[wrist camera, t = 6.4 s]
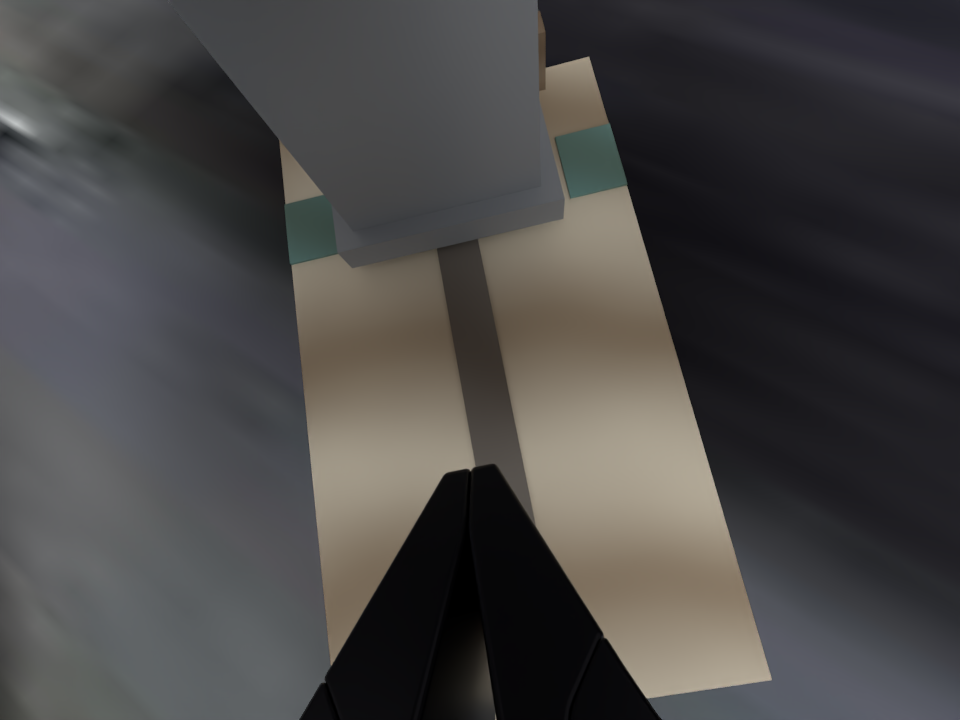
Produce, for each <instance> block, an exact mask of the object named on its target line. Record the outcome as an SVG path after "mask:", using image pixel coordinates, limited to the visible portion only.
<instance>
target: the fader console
mask: <svg viewBox="0 0 960 720" xmlns="http://www.w3.org/2000/svg"><path fill="white" fill-rule="evenodd" d="M538 54H539V100H540V104H541V108H542V112H543V116H544V120H545V123H546V127H547V131H548V135H549V139H550V143H551V147H552V151H553V155H554V159H555V162H556V166H557V170H558V174H559V178H560V182H561V186H562V190H563V194H564V198H565V203H564V218H563V219H560V220H556V221H552V222H547V223H543V224H539V225H535V226H530V227H526V228H522V229H518V230H513V231H509V232H505V233H501V234H496V235H492V236H488V237H484V238H479V239H475V240H471V241H466V242H462V243H458V244H454V245H449V246H445V247H441V248H437V249H432V250H428V251H424V252H420V253H415V254H411V255H407V256H403V257H398V258H394V259H390V260H386V261H381V262H377V263H373V264H368V265H364V266H360V267H356V268H351V267H350V266H349V265H348V263H347V262H346V261H345V260H344V259H343V258H342V257H341V256H340V255H339V254H338V253H337V245H336V237H335V229H334V221H333V213H332V205H331V203H330V202H329V201H328V199H327V198H326V197H325V196H324V194H323V193H322V192H321V191H320V189H319V188H318V187H317V186H316V185H315V183H314V182H313V181H312V180H311V178H310V177H309V176H308V175H307V173H306V172H305V171H304V170H303V168H302V167H301V166H300V165H299V163H298V162H297V161H296V160H295V158H294V157H293V156H292V155H291V154H290V152H289V151H288V150H287V149H286V147H285V146H284V145H283V144H282V142H281V141H280V140H279V142H280V152H281V162H282V172H283V183H284V193H285V203H286V204H285V205H284V208H285V219H286V229H287V239H288V250H289V260H290V264H291V265H292V275H293V285H294V295H295V305H296V315H297V326H298V336H299V346H300V356H301V366H302V377H303V387H304V397H305V407H306V417H307V428H308V438H309V448H310V458H311V469H312V479H313V489H314V499H315V509H316V520H317V530H318V540H319V550H320V560H321V571H322V581H323V591H324V601H325V611H326V622H327V632H328V642H329V652H330V663H331V665H332V664H333V662H334V660H335V659H336V657H337V655H338V654H339V652H340V650H341V648H342V647H343V645H344V643H345V642H346V640H347V638H348V637H349V635H350V633H351V631H352V630H353V628H354V626H355V625H356V623H357V621H358V620H359V618H360V616H361V614H362V613H363V611H364V609H365V608H366V606H367V604H368V603H369V601H370V599H371V597H372V596H373V594H374V592H375V591H376V589H377V587H378V585H379V584H380V582H381V580H382V579H383V577H384V575H385V574H386V572H387V570H388V568H389V567H390V565H391V563H392V562H393V560H394V558H395V557H396V555H397V553H398V551H399V550H400V548H401V546H402V545H403V543H404V541H405V540H406V538H407V536H408V534H409V533H410V531H411V529H412V528H413V526H414V524H415V523H416V521H417V519H418V517H419V516H420V514H421V512H422V511H423V509H424V507H425V506H426V504H427V502H428V500H429V499H430V497H431V495H432V494H433V492H434V490H435V489H436V487H437V485H438V483H439V482H440V480H441V478H442V477H443V475H444V474H445V473H447V472H451V471H456V470H461V469H469V470H470V471H471V470H472V468H473V467H477V466H482V465H487V464H492V463H494V464H496V465H497V466H498V467H499V469H500V470H501V472H502V473H503V475H504V477H505V478H506V480H507V481H508V483H509V485H510V486H511V488H512V489H513V491H514V492H515V494H516V496H517V497H518V499H519V500H520V502H521V504H522V505H523V507H524V508H525V510H526V511H527V513H528V515H529V516H530V518H531V519H532V521H533V523H534V524H535V526H536V527H537V529H538V530H539V532H540V534H541V535H542V537H543V538H544V540H545V541H546V543H547V545H548V546H549V548H550V549H551V551H552V553H553V554H554V556H555V557H556V559H557V560H558V562H559V564H560V565H561V567H562V568H563V570H564V572H565V573H566V575H567V576H568V578H569V579H570V581H571V583H572V584H573V586H574V587H575V589H576V591H577V592H578V594H579V595H580V597H581V598H582V600H583V602H584V603H585V605H586V606H587V608H588V610H589V611H590V613H591V614H592V616H593V617H594V619H595V621H596V622H597V624H598V625H599V627H600V629H601V630H602V632H603V634H604V638H607V639H608V641H609V642H610V644H611V645H612V647H613V649H614V650H615V652H616V653H617V655H618V656H619V658H620V660H621V661H622V663H623V664H624V666H625V667H626V669H627V670H628V672H629V673H630V675H631V676H632V678H633V679H634V681H635V682H636V684H637V685H638V687H639V688H640V690H641V691H642V692H643V694H644V695H645V697H646V698H654V697H661V696H667V695H674V694H681V693H688V692H694V691H701V690H708V689H715V688H721V687H728V686H735V685H742V684H748V683H755V682H762V681H769V680H772V678H771V675H770V671H769V668H768V665H767V661H766V658H765V654H764V651H763V648H762V644H761V641H760V637H759V634H758V631H757V627H756V624H755V620H754V617H753V614H752V610H751V607H750V603H749V600H748V597H747V593H746V590H745V586H744V583H743V579H742V576H741V573H740V569H739V566H738V562H737V559H736V556H735V552H734V549H733V545H732V542H731V539H730V535H729V532H728V528H727V525H726V522H725V518H724V515H723V511H722V508H721V505H720V501H719V498H718V494H717V491H716V488H715V484H714V481H713V477H712V474H711V470H710V467H709V464H708V460H707V457H706V453H705V450H704V447H703V443H702V440H701V436H700V433H699V430H698V426H697V423H696V419H695V416H694V413H693V409H692V406H691V402H690V399H689V396H688V392H687V389H686V385H685V382H684V378H683V375H682V372H681V368H680V365H679V361H678V358H677V355H676V351H675V348H674V344H673V341H672V338H671V334H670V331H669V327H668V324H667V321H666V317H665V314H664V310H663V307H662V304H661V300H660V297H659V293H658V290H657V287H656V283H655V280H654V276H653V273H652V269H651V266H650V263H649V259H648V256H647V252H646V249H645V246H644V242H643V239H642V235H641V232H640V229H639V225H638V222H637V218H636V215H635V212H634V208H633V205H632V201H631V198H630V195H629V191H628V188H627V180H626V177H625V174H624V170H623V167H622V163H621V160H620V157H619V153H618V150H617V146H616V143H615V140H614V136H613V133H612V129H611V126H610V123H608V120H607V116H606V113H605V109H604V106H603V103H602V99H601V96H600V92H599V89H598V86H597V82H596V79H595V75H594V72H593V68H592V65H591V62H590V58H589V57H586V58H582V59H578V60H574V61H571V62H567V63H563V64H559V65H555V66H551V67H548V68H546V66H545V28H544V25H543V21H542V17H541V14H540V11H538ZM495 720H496V714H495Z"/></svg>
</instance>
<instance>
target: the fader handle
mask: <svg viewBox="0 0 960 720" xmlns="http://www.w3.org/2000/svg"><path fill="white" fill-rule="evenodd" d="M167 1H168V2H169V3H170V5H171V6H172V7H173V8H174V10H175V11H176V12H177V13H178V15H179V16H180V17H181V18H182V20H183V21H184V22H185V23H186V25H187V26H188V27H189V28H190V30H191V31H192V32H193V33H194V34H195V36H196V37H197V38H198V39H199V41H200V42H201V43H202V44H203V46H204V47H205V48H206V49H207V51H208V52H209V53H210V54H211V56H212V57H213V58H214V59H215V61H216V62H217V63H218V64H219V65H220V67H221V68H222V69H223V70H224V72H225V73H226V74H227V75H228V77H229V78H230V79H231V80H232V82H233V83H234V84H235V85H236V87H237V88H238V89H239V90H240V92H241V93H242V94H243V95H244V96H245V98H246V99H247V100H248V101H249V103H250V104H251V105H252V106H253V108H254V109H255V110H256V111H257V113H258V114H259V115H260V116H261V118H262V119H263V120H264V121H265V123H266V124H267V125H268V126H269V127H270V129H271V130H272V131H273V132H274V134H275V135H276V136H277V137H278V139H279V140H280V141H281V142H282V144H283V145H284V146H285V147H286V149H287V150H288V151H289V152H290V154H291V155H292V156H293V157H294V158H295V160H296V161H297V162H298V163H299V165H300V166H301V167H302V168H303V170H304V171H305V172H306V173H307V175H308V176H309V177H310V178H311V180H312V181H313V182H314V183H315V185H316V186H317V187H318V188H319V189H320V191H321V192H322V193H323V194H324V196H325V197H326V198H327V199H328V201H329V202H330V203H331V205H332V213H333V221H334V229H335V237H336V245H337V253H338V254H339V255H340V256H341V257H342V258H343V259H344V260H345V261H346V262H347V263H348V265H349V266H350V267H351V268H356V267H360V266H364V265H368V264H373V263H377V262H381V261H386V260H390V259H394V258H398V257H403V256H407V255H411V254H415V253H420V252H424V251H428V250H432V249H437V248H441V247H445V246H449V245H454V244H458V243H462V242H466V241H471V240H475V239H479V238H484V237H488V236H492V235H496V234H501V233H505V232H509V231H513V230H518V229H522V228H526V227H530V226H535V225H539V224H543V223H547V222H552V221H556V220H560V219H563V218H564V203H565V198H564V194H563V190H562V186H561V182H560V178H559V174H558V170H557V166H556V162H555V159H554V155H553V151H552V147H551V143H550V139H549V135H548V131H547V127H546V123H545V120H544V116H543V112H542V108H541V104H540V100H539V54H538V0H167Z"/></svg>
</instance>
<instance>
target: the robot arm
mask: <svg viewBox="0 0 960 720" xmlns="http://www.w3.org/2000/svg"><path fill="white" fill-rule="evenodd" d="M325 682H326V683H321V684H320V685H319V687H318V689H317V690H316V692H315V694H314V696H313V697H312V699H311V701H310V702H309V704H308V706H307V707H306V709H305V711H304V713H303V714H302V716H301V718H300V719H299V720H495V714H496V720H661V718H660V717H659V716H658V714H657V713H656V712H655V710H654V709H653V707H652V706H651V704H650V703H649V701H648V700H647V698H646V697H645V695H644V694H643V692H642V691H641V690H640V688H639V687H638V685H637V684H636V682H635V681H634V679H633V678H632V676H631V675H630V673H629V672H628V670H627V669H626V667H625V666H624V664H623V663H622V661H621V660H620V658H619V656H618V655H617V653H616V652H615V650H614V649H613V647H612V645H611V644H610V642H609V641H608V639H607V638H604V634H603V632H602V630H601V629H600V627H599V625H598V624H597V622H596V621H595V619H594V617H593V616H592V614H591V613H590V611H589V610H588V608H587V606H586V605H585V603H584V602H583V600H582V598H581V597H580V595H579V594H578V592H577V591H576V589H575V587H574V586H573V584H572V583H571V581H570V579H569V578H568V576H567V575H566V573H565V572H564V570H563V568H562V567H561V565H560V564H559V562H558V560H557V559H556V557H555V556H554V554H553V553H552V551H551V549H550V548H549V546H548V545H547V543H546V541H545V540H544V538H543V537H542V535H541V534H540V532H539V530H538V529H537V527H536V526H535V524H534V523H533V521H532V519H531V518H530V516H529V515H528V513H527V511H526V510H525V508H524V507H523V505H522V504H521V502H520V500H519V499H518V497H517V496H516V494H515V492H514V491H513V489H512V488H511V486H510V485H509V483H508V481H507V480H506V478H505V477H504V475H503V473H502V472H501V470H500V469H499V467H498V466H497V465H496V464H494V463H492V464H487V465H482V466H477V467H473V468H472V470H471V471H470V470H469V469H461V470H456V471H451V472H447V473H445V474H444V475H443V477H442V478H441V480H440V482H439V483H438V485H437V487H436V489H435V490H434V492H433V494H432V495H431V497H430V499H429V500H428V502H427V504H426V506H425V507H424V509H423V511H422V512H421V514H420V516H419V517H418V519H417V521H416V523H415V524H414V526H413V528H412V529H411V531H410V533H409V534H408V536H407V538H406V540H405V541H404V543H403V545H402V546H401V548H400V550H399V551H398V553H397V555H396V557H395V558H394V560H393V562H392V563H391V565H390V567H389V568H388V570H387V572H386V574H385V575H384V577H383V579H382V580H381V582H380V584H379V585H378V587H377V589H376V591H375V592H374V594H373V596H372V597H371V599H370V601H369V603H368V604H367V606H366V608H365V609H364V611H363V613H362V614H361V616H360V618H359V620H358V621H357V623H356V625H355V626H354V628H353V630H352V631H351V633H350V635H349V637H348V638H347V640H346V642H345V643H344V645H343V647H342V648H341V650H340V652H339V654H338V655H337V657H336V659H335V660H334V662H333V664H332V665H331V667H330V669H329V671H328V672H327V674H326V676H325Z"/></svg>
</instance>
